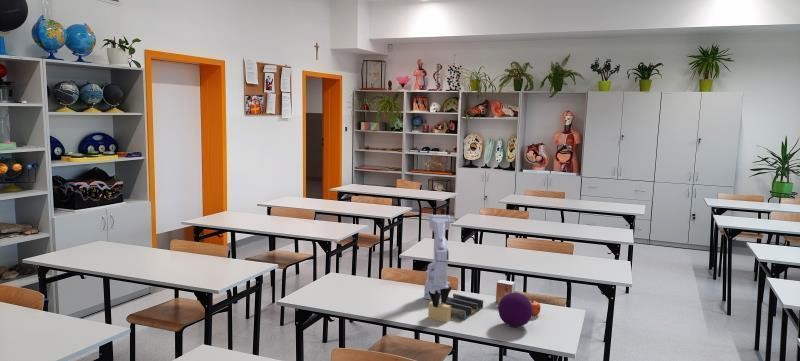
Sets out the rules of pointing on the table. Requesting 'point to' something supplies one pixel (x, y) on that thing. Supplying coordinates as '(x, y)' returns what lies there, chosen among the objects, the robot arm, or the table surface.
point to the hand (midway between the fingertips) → (439, 304)
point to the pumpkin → (535, 307)
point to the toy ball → (515, 309)
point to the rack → (463, 306)
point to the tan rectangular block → (440, 312)
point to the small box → (504, 289)
